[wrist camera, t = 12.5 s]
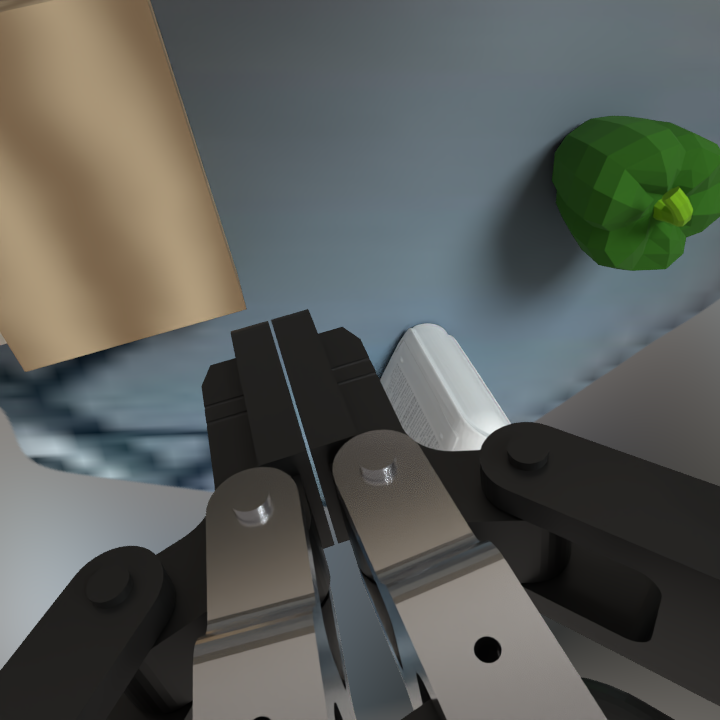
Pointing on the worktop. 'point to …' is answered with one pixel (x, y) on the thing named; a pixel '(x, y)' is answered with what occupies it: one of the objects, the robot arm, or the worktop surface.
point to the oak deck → (100, 186)
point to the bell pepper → (636, 189)
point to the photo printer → (439, 392)
